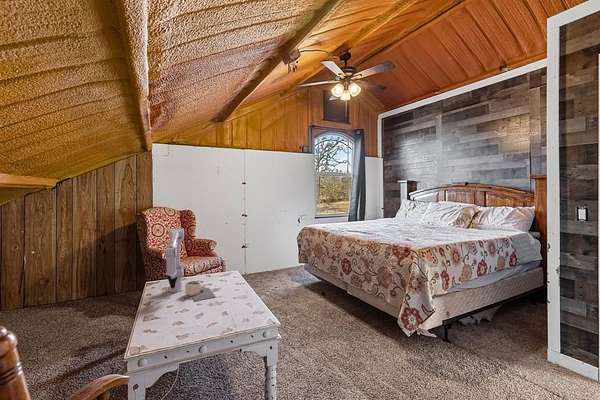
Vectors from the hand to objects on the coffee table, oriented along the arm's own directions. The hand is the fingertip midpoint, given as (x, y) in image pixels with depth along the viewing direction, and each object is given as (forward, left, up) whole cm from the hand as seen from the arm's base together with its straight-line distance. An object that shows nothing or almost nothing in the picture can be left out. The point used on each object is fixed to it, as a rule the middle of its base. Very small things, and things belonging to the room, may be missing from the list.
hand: (172, 286), depth 182 cm
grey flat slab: (+4, +18, -8) cm, 20 cm away
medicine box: (+1, +9, -4) cm, 10 cm away
